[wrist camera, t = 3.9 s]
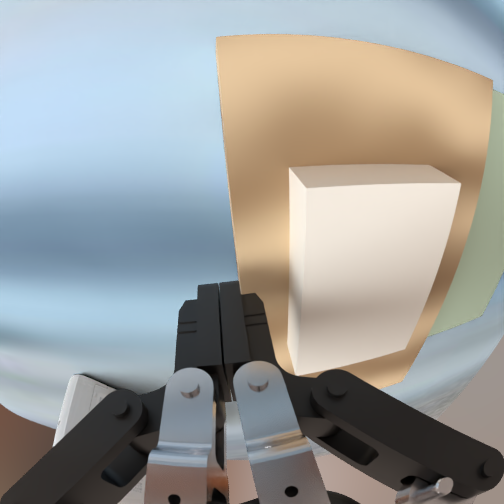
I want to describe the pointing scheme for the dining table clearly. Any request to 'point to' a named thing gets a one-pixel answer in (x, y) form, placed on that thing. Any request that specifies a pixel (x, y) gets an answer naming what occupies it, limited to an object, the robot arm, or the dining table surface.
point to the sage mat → (480, 238)
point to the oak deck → (341, 151)
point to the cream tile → (362, 258)
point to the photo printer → (77, 407)
